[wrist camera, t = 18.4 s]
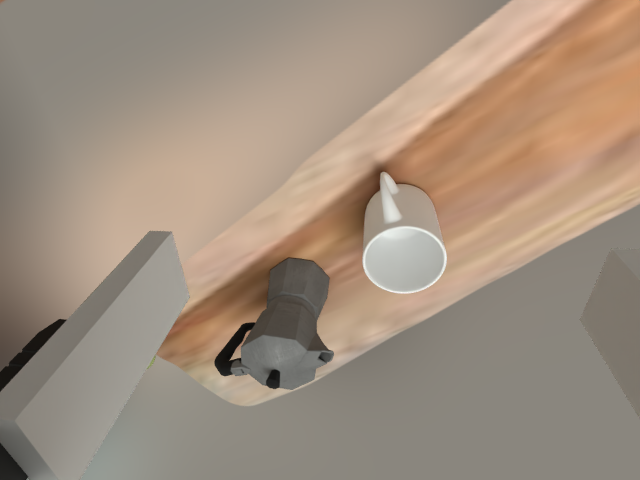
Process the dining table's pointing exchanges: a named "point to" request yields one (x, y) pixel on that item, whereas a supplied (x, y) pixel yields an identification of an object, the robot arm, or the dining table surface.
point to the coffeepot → (283, 330)
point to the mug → (402, 239)
